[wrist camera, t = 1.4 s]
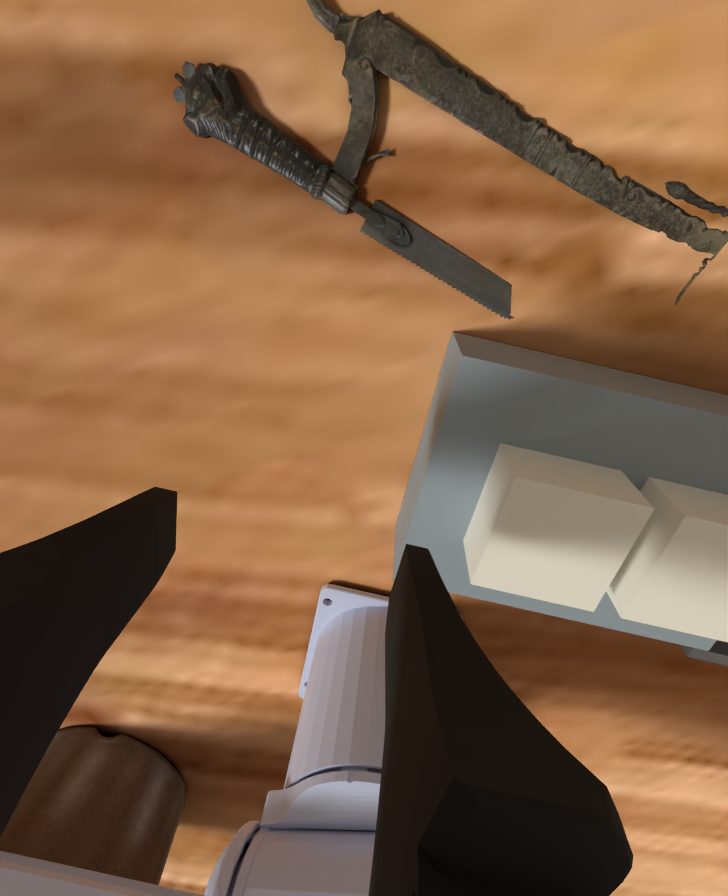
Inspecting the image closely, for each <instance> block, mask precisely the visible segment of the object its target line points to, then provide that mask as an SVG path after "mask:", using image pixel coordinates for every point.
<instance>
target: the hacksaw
mask: <svg viewBox="0 0 728 896" xmlns="http://www.w3.org/2000/svg"><path fill="white" fill-rule="evenodd" d="M307 2H308V4H309V6H310V8H311V10H312V12H313V14H314V16H315V17H316V19H317V20H318V21H319V22H320V23H321V24H322V25H323V26H324V27H325V28H326V29H327V30H328V31H329V32H331V33H333V34H334V37H335V40H342V41H343V43H344V44H345V53H346V58H345V63H344V67H343V71H342V75H343V76H344V77H345V78H346V79H347V81H348V88H349V100H348V102H349V103H351V106H352V109H351V115H350V120H349V126H348V131H347V133H346V136H345V138H344V141H343V143H342V146H341V148H340V150H339V153H338V155H337V158H336V160H335V163H334V165H333V168H332V167H331V166H330V165H328V164H325V163H322V162H321V161H319V160H318V159H317V158H316V157H315V156H313V155H311V154H310V152H309V151H308V150H306V149H305V148H303V147H301V146H300V145H299V144H298V143H297V142H296V141H294V140H293V139H291V138H290V137H289V136H287V135H286V134H285V133H284V132H281V131H280V130H279V129H278V128H276V127H275V126H274V125H273V124H272V123H271V122H270V121H269V120H268V119H266V118H264V117H262V116H261V115H259V114H258V113H257V112H256V111H255V110H254V109H252V107H251V106H250V104H249V103H248V101H247V100H246V98H245V97H244V95H243V92H242V90H241V87H240V85H239V83H238V81H237V79H236V77H235V75H234V74H233V73H232V72H231V71H230V70H229V69H228V68H226V67H222V68H221V69H219V68H218V67H217V66H216V65H215V64H213V63H206V64H202V65H201V66H200V68H199V69H198V70H197V71H196V72H195V67H194V64H192V63H189V62H186V61H185V63H184V65H183V67H182V69H183V73H184V76H185V77H186V78H185V79H184V78H182V77H181V76H180V75H179V74H178V73H176V74H175V78H176V79H177V80H178V81H179V82H180V83H181V84H182V87H177V88H176V89H175V90H174V95H173V96H174V98H175V100H176V101H177V102H179V103H183V102H185V101H186V114H185V116H184V118H183V121H184V123H185V125H186V126H187V127H188V128H189V129H190V130H191V131H192V132H193V133H194V134H195V135H196V136H197V137H198V136H199V137H202V138H206V137H209V136H211V137H214V138H216V139H218V140H221V141H222V142H224V143H226V144H228V145H230V146H232V147H234V148H236V149H238V150H239V151H241V152H243V153H244V154H246V155H247V156H249V157H250V158H252V159H255V160H257V161H259V162H261V163H262V164H263V165H265V166H267V167H269V168H271V169H272V170H273V171H274V172H277V173H279V174H281V175H282V176H284V177H286V178H287V179H289V180H291V181H292V182H294V183H295V184H296V185H298V186H299V187H301V188H302V189H304V190H306V191H308V192H310V193H311V195H312V197H313V198H315V199H321V200H323V201H324V202H325V203H326V204H327V205H328V206H329V207H331V208H332V209H334V210H335V211H337V212H338V213H340V214H346V213H347V211H348V209H351V210H352V211H354V212H356V213H358V214H359V215H361V216H362V217H364V218H365V219H366V220H365V222H364V224H363V226H362V229H361V231H360V232H364V234H366V235H369V237H373V238H374V240H378V242H379V243H383V245H384V246H387V247H388V249H392V250H393V252H397V254H399V255H402V257H406V259H407V260H411V262H412V263H415V264H416V266H420V268H422V269H425V271H429V273H430V274H433V275H434V277H438V279H439V280H441V279H442V280H443V282H447V284H448V285H452V288H456V289H457V290H460V291H461V293H465V295H466V296H469V297H470V298H473V299H474V301H478V303H479V304H482V305H483V306H486V307H487V309H491V311H492V312H495V313H496V314H500V317H503V316H504V317H505V318H508V319H512V318H514V317H512V316H510V312H511V287H512V285H511V284H510V283H508V282H507V281H505V280H503V279H502V278H500V277H499V276H497V275H495V274H494V273H492V272H491V271H489V270H487V269H486V268H484V267H483V266H481V265H479V264H478V263H476V262H475V261H473V260H471V259H470V258H468V257H467V256H465V255H463V254H462V253H460V252H459V251H457V250H455V249H454V248H452V247H451V246H449V245H447V244H446V243H444V242H442V241H441V240H439V239H438V238H436V237H434V236H433V235H431V234H430V233H428V232H426V231H425V230H423V229H422V228H420V227H418V226H417V225H415V224H414V223H412V222H410V221H409V220H407V219H406V218H404V217H402V216H401V215H399V214H398V213H396V212H394V211H393V210H391V209H390V208H388V207H386V206H385V205H383V204H382V203H380V202H378V201H377V200H375V202H374V204H373V206H372V208H371V209H370V208H368V207H367V206H366V205H364V204H363V203H362V202H361V201H359V200H358V199H357V198H356V197H354V196H355V194H356V192H357V190H358V186H357V185H356V184H355V181H356V179H357V176H358V174H359V172H360V169H361V167H362V164H364V163H366V162H368V161H370V160H372V159H374V158H376V157H378V156H388V157H389V149H386V150H384V151H382V152H380V153H377V154H375V155H373V156H371V157H369V158H366V155H367V152H368V150H369V147H370V144H371V141H372V138H373V135H374V133H375V130H376V124H377V113H378V98H379V89H378V80H377V71H379V72H381V73H383V74H384V75H386V76H388V77H390V78H391V79H393V80H395V81H397V82H399V83H400V84H402V85H404V86H405V87H407V88H408V89H410V90H411V91H413V92H414V93H416V94H417V95H419V96H421V97H422V98H424V99H426V100H427V101H429V102H431V103H432V104H434V105H435V106H437V107H439V108H440V109H442V110H444V111H446V112H448V113H449V114H451V115H453V116H454V117H456V118H457V119H459V120H460V121H461V122H462V123H464V124H466V125H468V126H469V127H471V128H473V129H475V130H476V131H478V132H479V133H481V134H483V135H484V136H486V137H488V138H489V139H491V140H493V141H495V142H496V143H498V144H500V145H501V146H503V147H504V148H506V149H508V150H509V151H511V152H513V153H514V154H516V155H517V156H519V157H521V158H522V159H524V160H526V161H527V162H529V163H531V164H532V165H534V166H536V167H538V168H539V169H540V170H542V171H544V172H545V173H547V174H549V175H552V176H554V178H555V179H557V180H559V181H561V182H563V183H564V184H566V185H567V186H569V187H571V188H572V189H574V190H575V191H577V192H579V193H581V194H582V195H584V196H586V197H588V198H590V199H592V200H593V201H595V202H597V203H599V204H601V205H602V206H604V207H606V208H608V209H610V210H612V211H613V212H615V213H617V214H619V215H621V216H623V217H625V218H627V219H629V220H631V221H633V222H635V223H637V224H639V225H641V226H644V227H646V228H648V229H650V230H654V231H657V232H661V231H663V232H664V233H666V236H667V237H668V238H670V239H672V240H674V241H677V242H686V243H687V244H688V246H690V245H691V247H692V249H694V250H696V251H699V252H707V253H712V254H714V256H713V257H712V258H705V259H704V260H703V262H702V263H703V266H704V267H700V268H699V272H698V273H695V274H693V277H692V278H691V279H690V281H689V282H688V283H687V285H686V286H685V287H684V289H683V290H682V291H681V292H680V294H679V295H678V296H677V299H676V302H675V305H676V304H677V302H678V301H679V300H680V298H681V296H682V295H683V294H684V292H685V291H686V289H687V288H688V286H689V285H690V284H691V282H692V281H693V280H694V279H695V277H697V276H698V275H699V274H700V272H701V271H702V270H703V269H704V268H705V267H706V265H707V260H709V259H710V261H711V260H712V259H713V258H715V256H716V255H717V254H718V253H719V251H720V250H721V249H722V248H723V246H724V245H725V244H726V243H727V241H728V232H727V231H726V230H725V231H721V230H719V229H708V228H707V227H706V224H705V221H704V220H702V219H700V218H699V217H697V216H691V215H690V214H688V213H686V212H685V211H684V210H683V209H681V208H680V207H678V206H677V205H675V204H673V203H672V202H670V201H669V200H667V199H665V198H664V197H662V196H660V195H659V194H657V193H655V192H653V191H652V190H650V189H648V188H646V187H645V186H643V185H641V184H639V183H637V182H634V181H633V180H632V179H631V180H630V181H628V176H624V177H623V178H622V179H619V178H618V177H616V176H615V174H614V171H613V169H612V168H611V167H610V166H608V165H606V166H603V165H602V163H601V162H600V161H599V160H598V159H597V158H595V157H594V156H592V155H590V154H588V153H586V152H585V151H584V150H583V149H580V148H575V147H573V146H572V145H570V144H569V143H568V139H567V138H566V137H564V136H562V135H560V134H559V133H557V132H555V131H553V130H552V129H550V128H548V127H546V126H545V125H543V124H541V122H542V119H540V118H538V117H537V118H530V117H528V116H527V115H525V114H523V113H522V112H521V111H520V109H519V108H518V107H517V106H516V104H514V103H512V102H510V101H509V100H507V99H505V98H504V97H503V96H502V95H501V94H500V93H499V92H498V91H496V90H494V89H492V88H490V87H488V86H487V85H486V84H485V83H483V82H482V81H481V80H479V79H478V78H477V77H475V76H473V75H471V74H469V73H468V72H467V71H465V70H464V69H463V68H462V67H460V66H459V65H457V64H455V63H453V62H452V61H450V60H449V59H448V58H446V57H445V56H444V55H443V54H441V53H440V52H439V51H438V50H436V49H435V48H433V47H432V46H431V45H429V44H428V43H427V42H425V41H424V40H422V39H421V38H419V37H418V36H416V35H415V34H413V33H412V32H410V31H409V30H407V29H406V28H404V27H403V26H401V25H400V24H398V23H397V22H395V21H394V20H392V19H391V18H389V16H388V15H385V14H382V12H381V11H380V9H379V10H377V11H375V12H373V13H371V14H369V15H367V16H365V17H346V16H345V15H344V14H343V13H342V12H341V14H340V16H338V15H337V14H335V13H334V12H333V11H332V10H331V9H330V7H329V6H328V5H327V4H326V3H325V2H324V1H323V0H307ZM365 158H366V159H365ZM665 184H666V189H667V192H668V193H669V195H671V196H672V197H673V198H675V199H684V200H685V201H686V202H687V203H690V204H693V205H695V206H697V207H698V208H701V209H706V210H709V211H710V212H711V213H721V215H722V216H723V217H726V216H728V209H727V208H726V207H725V206H716V205H715V204H714V203H712V202H708V201H707V200H705V199H703V198H702V197H700V196H698V195H697V194H696V193H694V192H693V191H691V190H689V188H688V187H687V186H686V184H684V183H681V182H667V183H665Z"/></svg>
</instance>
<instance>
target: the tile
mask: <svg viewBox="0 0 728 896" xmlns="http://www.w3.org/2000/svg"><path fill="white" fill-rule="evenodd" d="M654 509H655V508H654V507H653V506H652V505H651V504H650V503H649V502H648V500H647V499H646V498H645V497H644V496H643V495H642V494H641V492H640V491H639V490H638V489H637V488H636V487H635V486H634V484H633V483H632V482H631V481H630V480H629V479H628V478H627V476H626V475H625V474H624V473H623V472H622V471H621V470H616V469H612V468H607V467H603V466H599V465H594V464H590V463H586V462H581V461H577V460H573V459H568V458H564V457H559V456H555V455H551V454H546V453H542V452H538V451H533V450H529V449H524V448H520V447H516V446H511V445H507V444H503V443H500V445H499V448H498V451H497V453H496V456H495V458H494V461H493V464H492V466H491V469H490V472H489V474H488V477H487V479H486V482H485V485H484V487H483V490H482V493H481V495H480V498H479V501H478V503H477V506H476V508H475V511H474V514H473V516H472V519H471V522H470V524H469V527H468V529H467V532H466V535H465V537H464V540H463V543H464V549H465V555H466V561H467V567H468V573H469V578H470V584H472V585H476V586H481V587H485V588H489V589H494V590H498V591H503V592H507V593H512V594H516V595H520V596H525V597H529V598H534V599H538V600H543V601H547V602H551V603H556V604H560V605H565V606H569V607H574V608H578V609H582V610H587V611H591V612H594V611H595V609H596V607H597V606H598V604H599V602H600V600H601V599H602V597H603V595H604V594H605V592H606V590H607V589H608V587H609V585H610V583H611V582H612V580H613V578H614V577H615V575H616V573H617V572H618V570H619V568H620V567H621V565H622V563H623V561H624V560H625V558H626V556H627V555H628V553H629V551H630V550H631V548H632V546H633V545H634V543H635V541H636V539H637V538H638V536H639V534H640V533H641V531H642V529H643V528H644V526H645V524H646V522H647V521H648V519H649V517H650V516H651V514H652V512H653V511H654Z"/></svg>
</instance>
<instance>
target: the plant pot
mask: <svg viewBox="0 0 728 896" xmlns="http://www.w3.org/2000/svg"><path fill="white" fill-rule="evenodd" d="M185 789H186V787H185V784H184V782H183V779H182V778H181V776H180V775H179V773H178V772H177V771H176V769H175V768H174V767H173V766H172V765H171V764H170V763H169V761H168V760H166V759H165V758H164V757H163V756H162V755H161V754H159V753H158V752H157V751H155V750H154V749H152V748H150V747H148V746H146V745H145V744H143V743H141V742H139V741H137V740H135V739H133V738H131V737H128V736H126V735H118V736H115V737H110V738H108V737H104V736H102V735H100V734H99V733H98V730H97V729H96V728H94V727H73V728H67V729H62V730H58V731H57V733H56V735H55V737H54V738H53V740H52V742H51V744H50V745H49V747H48V749H47V751H46V753H45V754H44V756H43V758H42V760H41V762H40V764H39V765H38V767H37V769H36V771H35V773H34V775H33V776H32V778H31V780H30V782H29V784H28V786H27V787H26V789H25V791H24V793H23V795H22V797H21V799H20V800H19V802H18V804H17V806H16V808H15V810H14V812H13V814H12V816H11V818H10V820H9V822H8V824H7V826H6V828H5V830H4V831H3V833H2V835H1V837H0V851H4V852H9V853H13V854H18V855H22V856H27V857H31V858H36V859H40V860H45V861H50V862H54V863H59V864H63V865H68V866H72V867H77V868H82V869H86V870H91V871H95V872H100V873H104V874H109V875H114V876H118V877H123V878H127V879H132V880H136V881H141V882H145V883H150V884H155V885H159V882H160V879H161V875H162V872H163V869H164V866H165V863H166V860H167V857H168V854H169V851H170V848H171V845H172V842H173V839H174V836H175V832H176V829H177V826H178V823H179V820H180V817H181V814H182V811H183V808H184V804H185V802H184V801H185Z"/></svg>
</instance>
